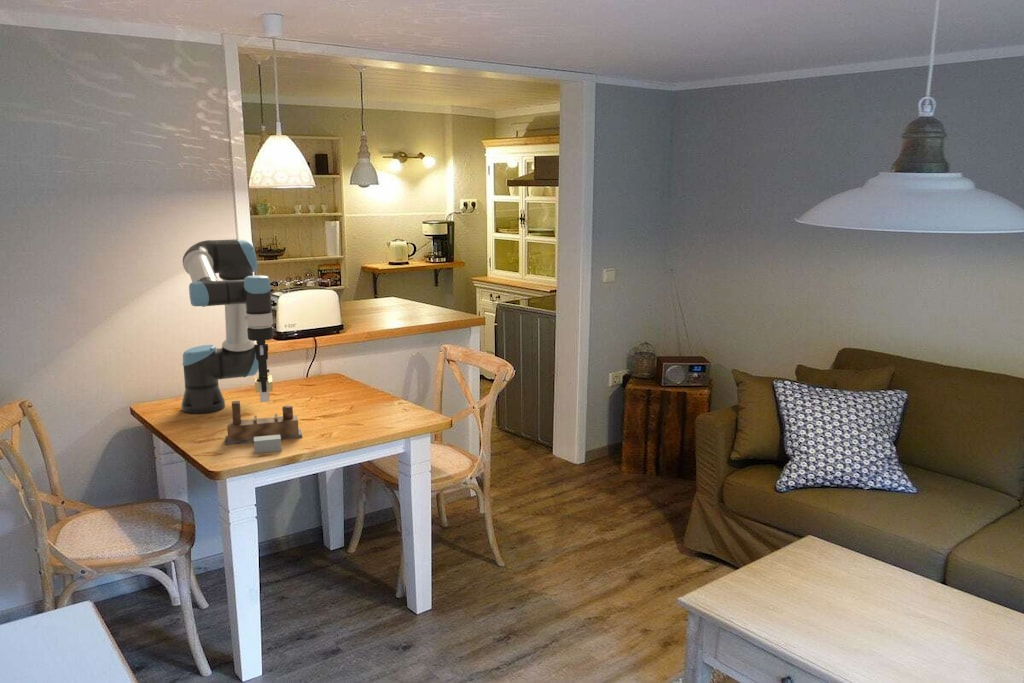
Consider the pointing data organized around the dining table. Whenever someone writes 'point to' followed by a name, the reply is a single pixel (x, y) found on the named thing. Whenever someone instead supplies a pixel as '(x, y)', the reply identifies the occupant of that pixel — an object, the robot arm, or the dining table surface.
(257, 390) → the lever cap
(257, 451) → the block
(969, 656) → the dining table surface
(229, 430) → the plane body
